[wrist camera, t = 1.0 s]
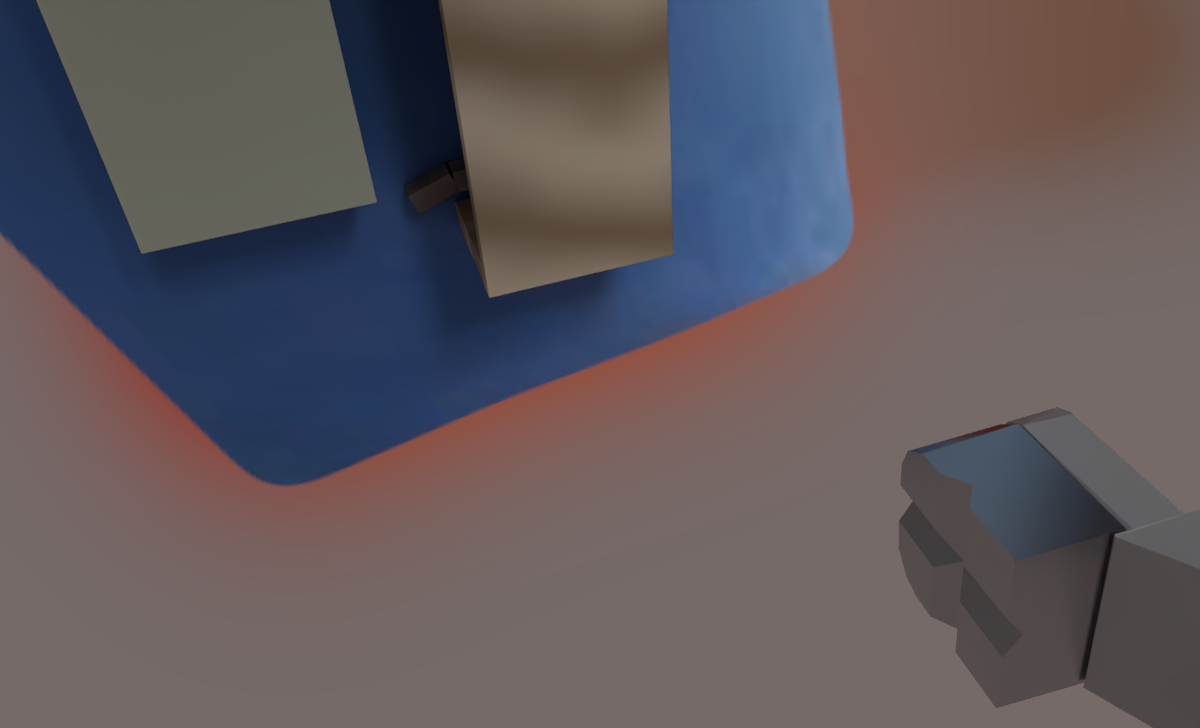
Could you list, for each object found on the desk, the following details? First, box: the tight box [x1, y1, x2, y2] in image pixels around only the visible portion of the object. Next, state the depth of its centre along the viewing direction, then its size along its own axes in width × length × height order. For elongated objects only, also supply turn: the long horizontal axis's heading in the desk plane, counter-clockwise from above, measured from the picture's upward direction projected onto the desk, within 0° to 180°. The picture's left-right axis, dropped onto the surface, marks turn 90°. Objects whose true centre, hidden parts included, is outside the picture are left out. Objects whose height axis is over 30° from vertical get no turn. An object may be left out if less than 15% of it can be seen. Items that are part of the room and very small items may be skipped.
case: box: [36, 0, 377, 254], centre depth 39 cm, size 12×9×4 cm
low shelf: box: [404, 0, 673, 298], centre depth 40 cm, size 20×10×6 cm, turn 4°
